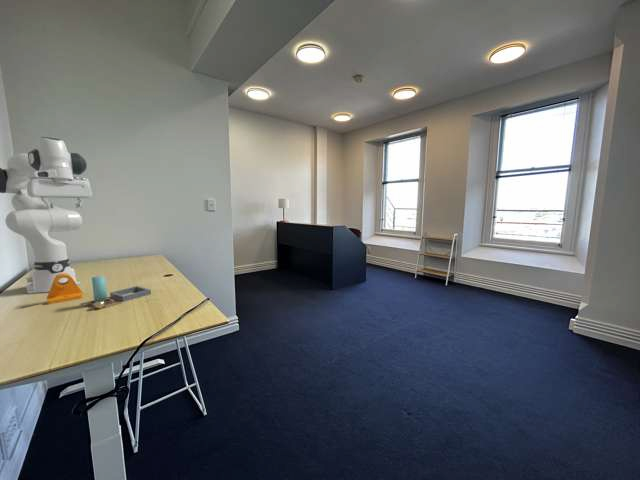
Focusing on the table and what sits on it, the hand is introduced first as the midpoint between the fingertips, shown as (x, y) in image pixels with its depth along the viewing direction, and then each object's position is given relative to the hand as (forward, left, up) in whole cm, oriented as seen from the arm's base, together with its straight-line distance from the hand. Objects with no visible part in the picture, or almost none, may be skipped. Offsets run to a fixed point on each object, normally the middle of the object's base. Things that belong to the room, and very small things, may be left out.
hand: (65, 208), depth 112 cm
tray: (+25, +11, -40) cm, 48 cm away
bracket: (+6, -5, -40) cm, 41 cm away
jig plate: (+25, 0, -40) cm, 47 cm away
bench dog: (+30, -2, -39) cm, 49 cm away
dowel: (+25, 0, -39) cm, 46 cm away
